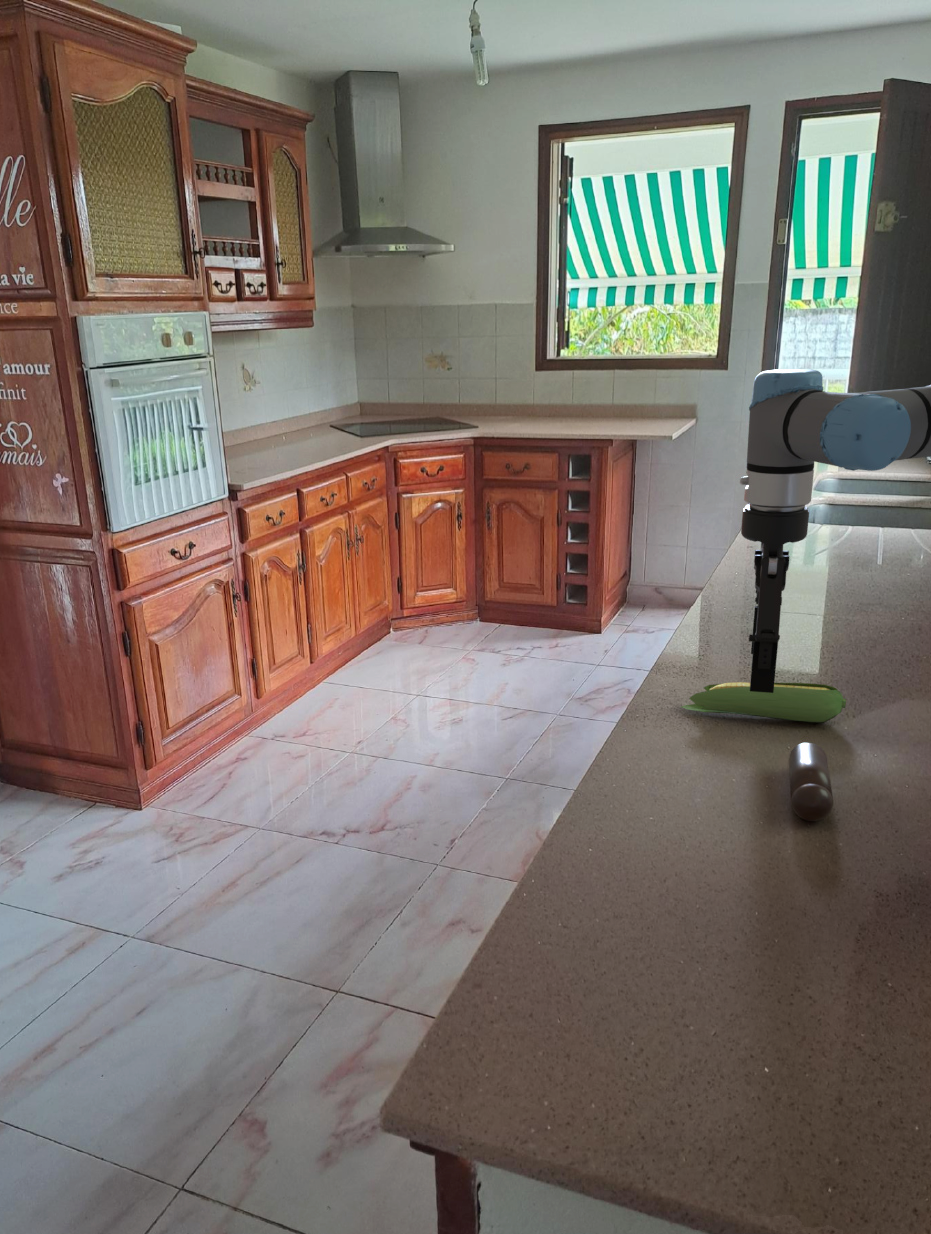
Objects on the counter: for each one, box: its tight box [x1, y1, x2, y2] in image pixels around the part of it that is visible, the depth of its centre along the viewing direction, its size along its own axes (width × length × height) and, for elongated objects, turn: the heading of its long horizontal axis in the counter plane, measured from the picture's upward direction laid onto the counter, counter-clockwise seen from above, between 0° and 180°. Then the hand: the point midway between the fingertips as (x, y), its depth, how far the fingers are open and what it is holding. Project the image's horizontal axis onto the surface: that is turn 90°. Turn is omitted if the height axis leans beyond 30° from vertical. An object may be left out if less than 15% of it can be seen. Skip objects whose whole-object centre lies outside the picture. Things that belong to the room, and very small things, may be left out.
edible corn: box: [680, 681, 847, 724], centre depth 124 cm, size 5×20×5 cm, turn 71°
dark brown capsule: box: [788, 742, 834, 822], centre depth 103 cm, size 14×4×4 cm, turn 162°
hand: (761, 671), depth 123 cm, fingers open, 13 cm apart
